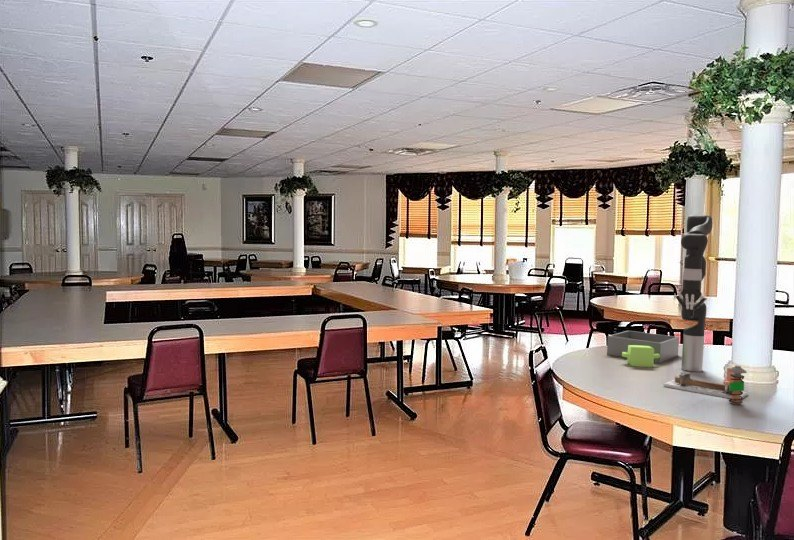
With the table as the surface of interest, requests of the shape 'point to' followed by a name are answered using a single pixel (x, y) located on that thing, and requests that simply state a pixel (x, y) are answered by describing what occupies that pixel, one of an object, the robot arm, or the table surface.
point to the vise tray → (643, 344)
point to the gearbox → (640, 355)
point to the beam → (698, 382)
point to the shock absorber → (736, 384)
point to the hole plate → (701, 389)
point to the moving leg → (728, 378)
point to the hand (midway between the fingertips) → (689, 317)
